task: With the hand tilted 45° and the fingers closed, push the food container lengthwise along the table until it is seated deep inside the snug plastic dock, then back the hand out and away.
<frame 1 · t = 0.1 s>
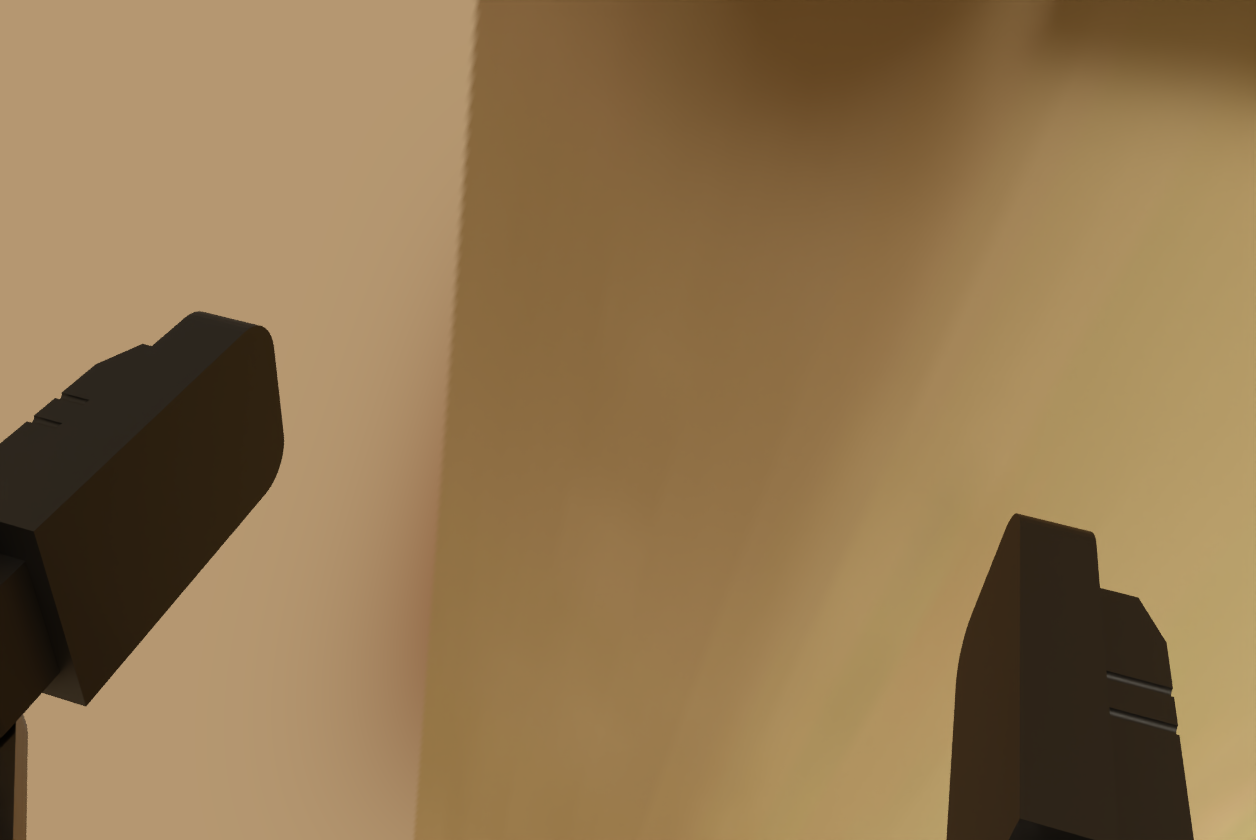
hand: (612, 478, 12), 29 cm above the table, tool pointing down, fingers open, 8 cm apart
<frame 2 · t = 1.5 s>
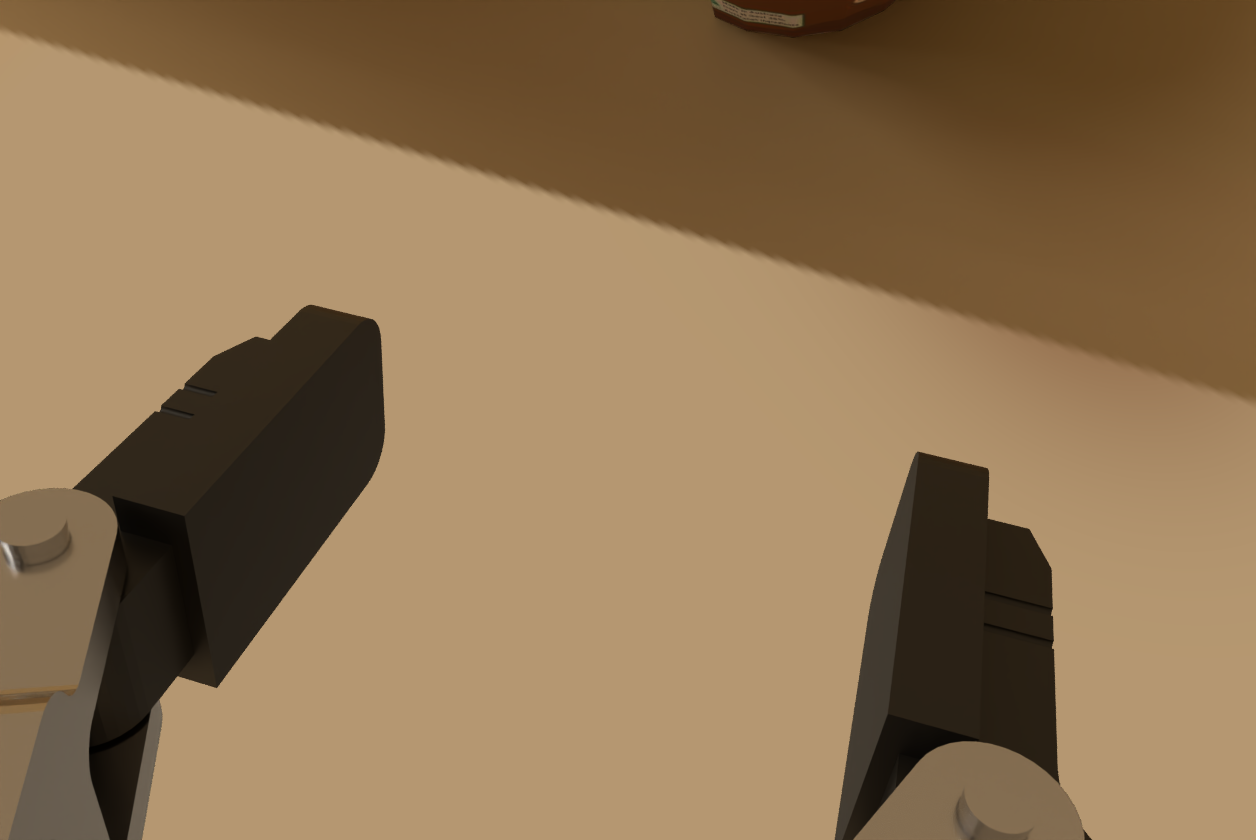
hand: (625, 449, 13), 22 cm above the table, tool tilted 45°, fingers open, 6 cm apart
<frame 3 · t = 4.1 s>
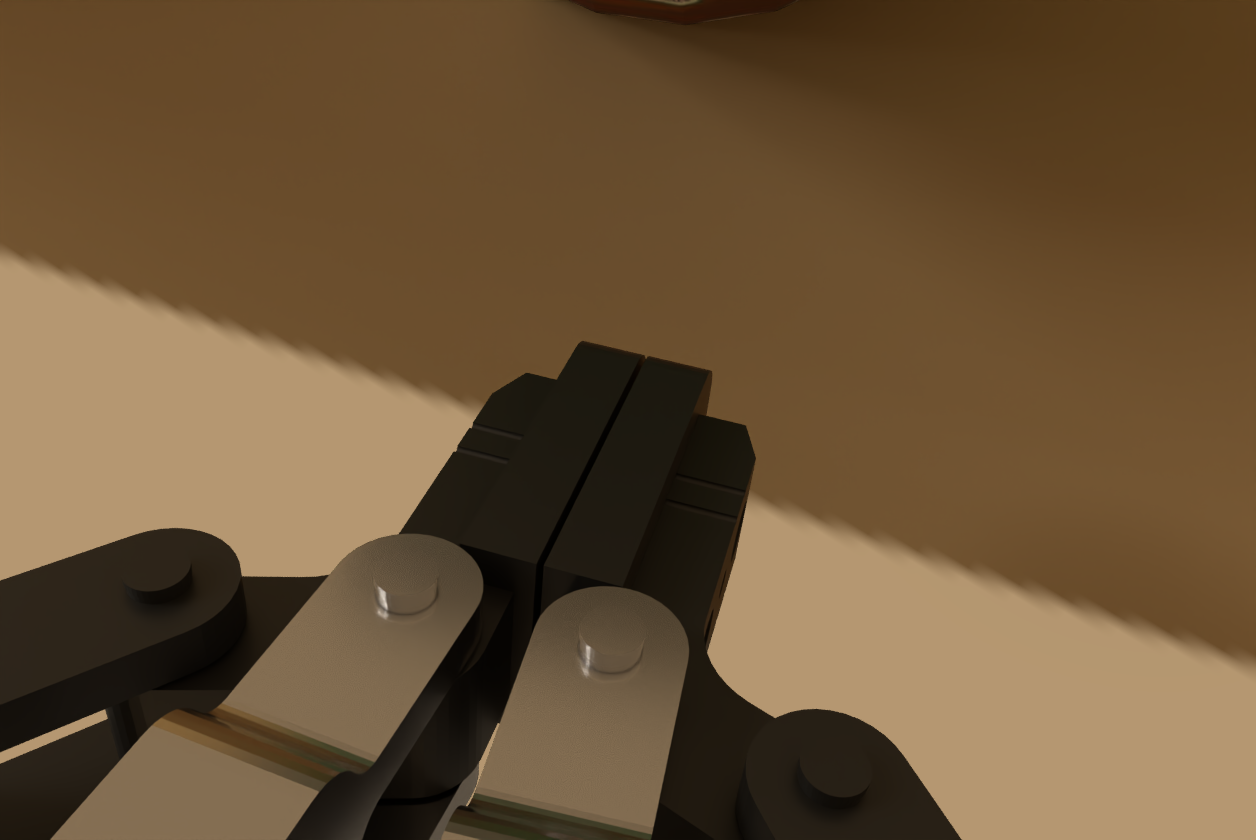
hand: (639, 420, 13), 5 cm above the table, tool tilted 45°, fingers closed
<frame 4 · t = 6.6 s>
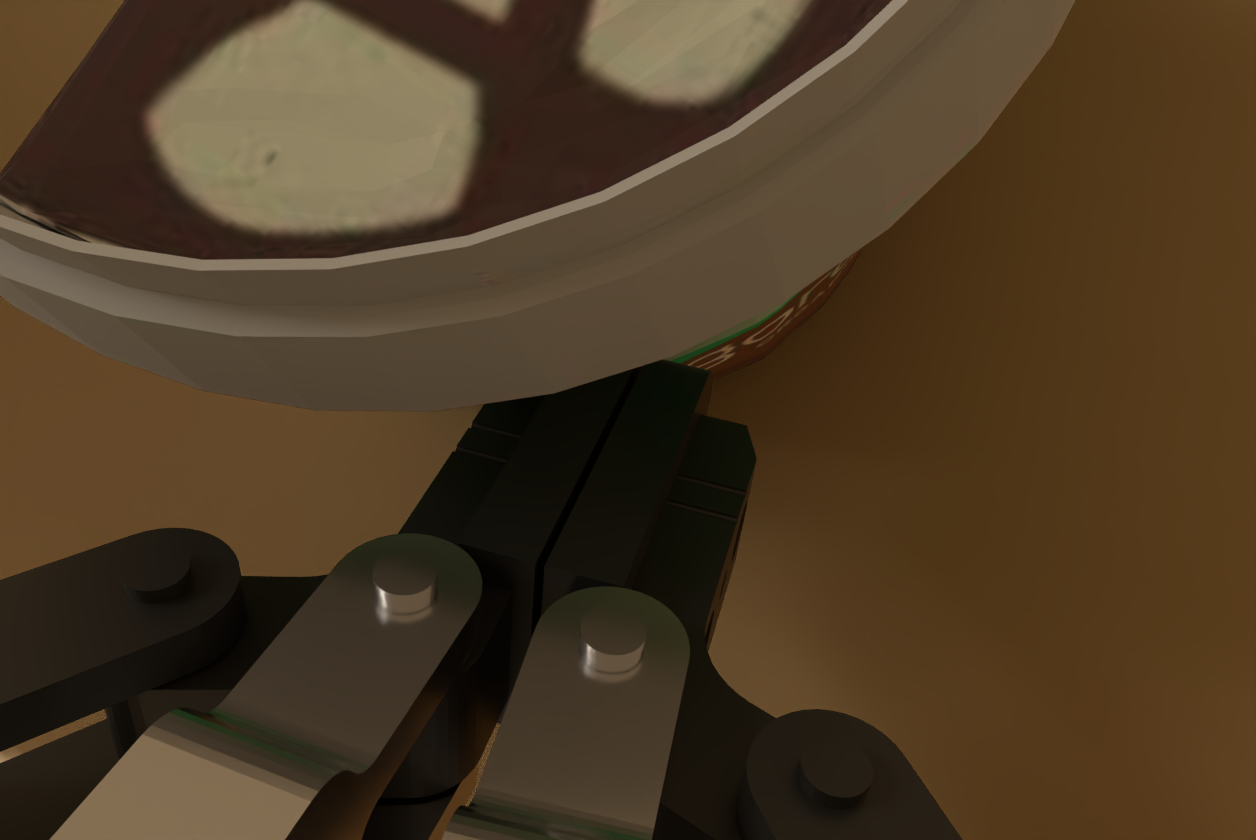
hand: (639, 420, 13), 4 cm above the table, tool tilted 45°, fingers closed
food container: (743, 210, 17), on the table, touching gripper
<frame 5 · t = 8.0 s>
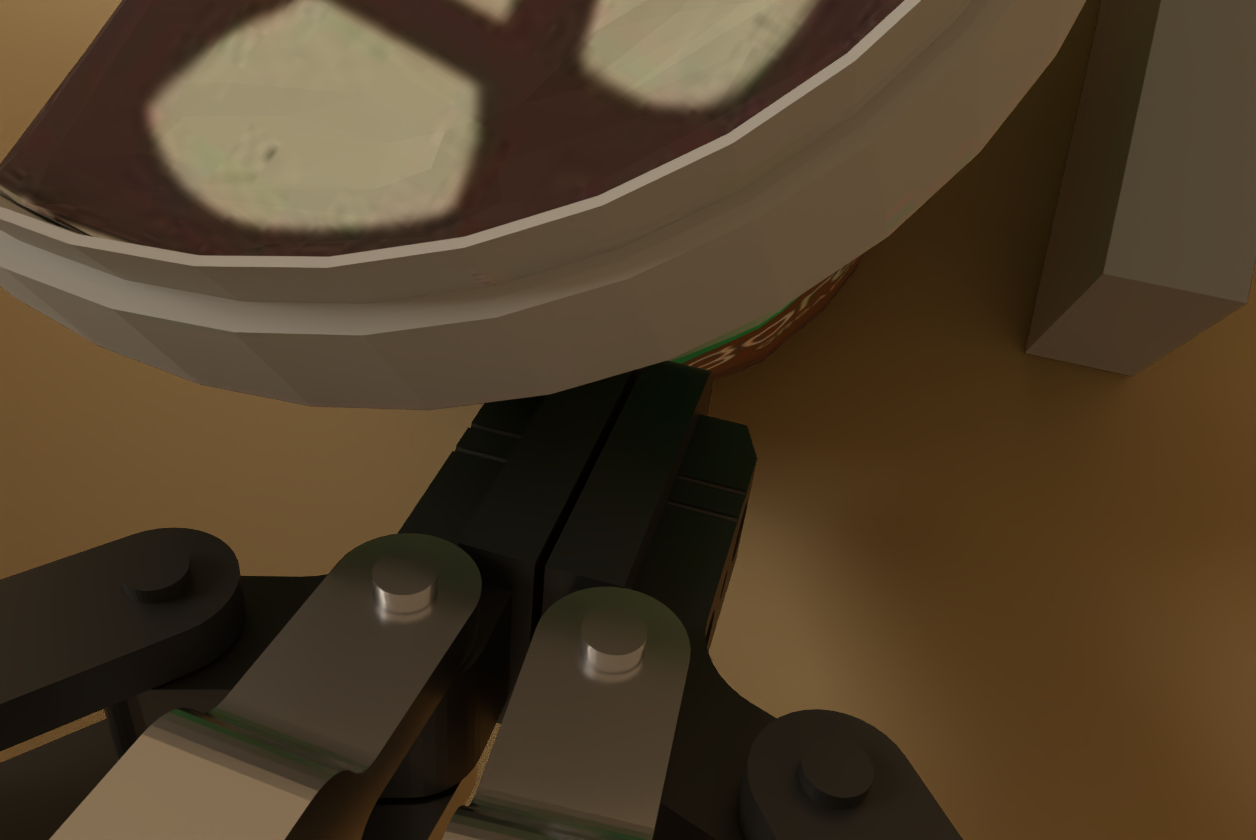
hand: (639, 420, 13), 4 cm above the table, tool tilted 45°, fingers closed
food container: (746, 211, 17), on the table, touching gripper
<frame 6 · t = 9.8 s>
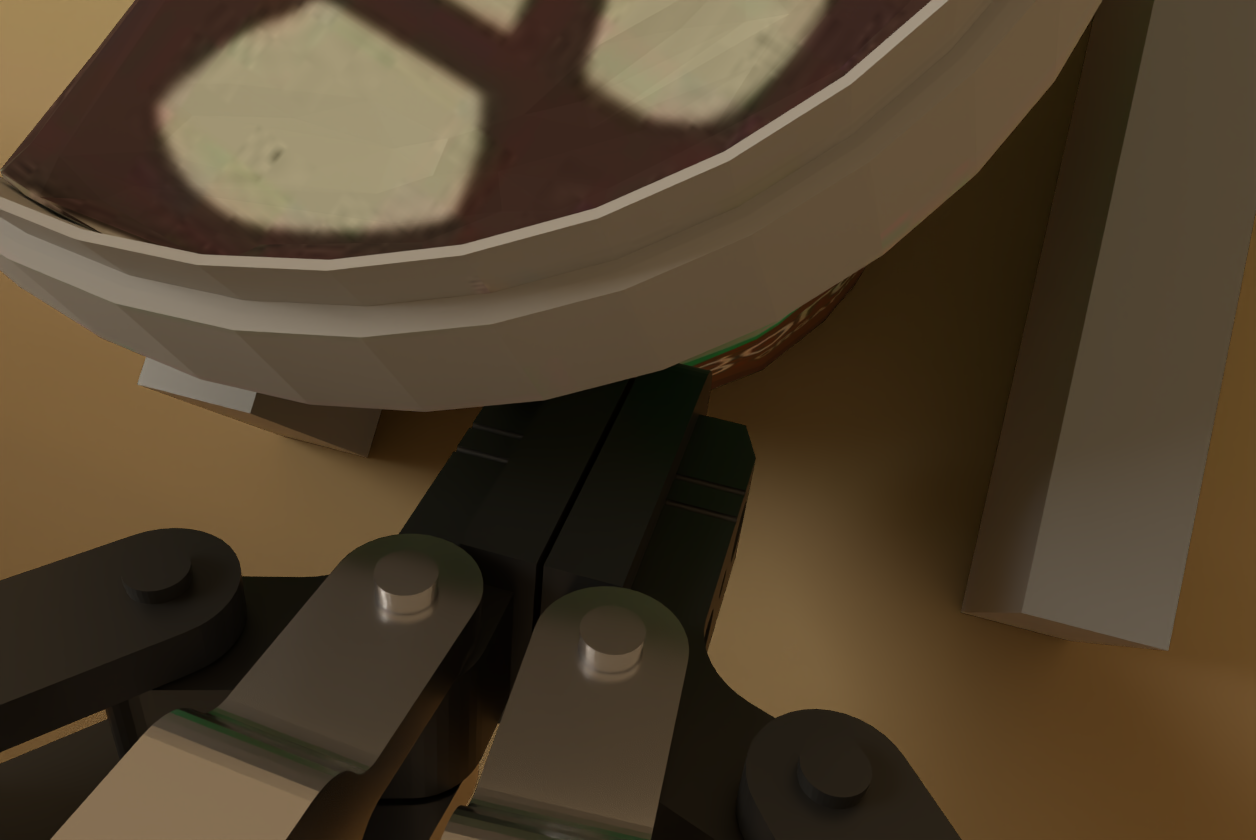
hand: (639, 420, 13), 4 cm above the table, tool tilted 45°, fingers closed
food container: (750, 221, 18), on the table
dock: (766, 90, 18), on the table
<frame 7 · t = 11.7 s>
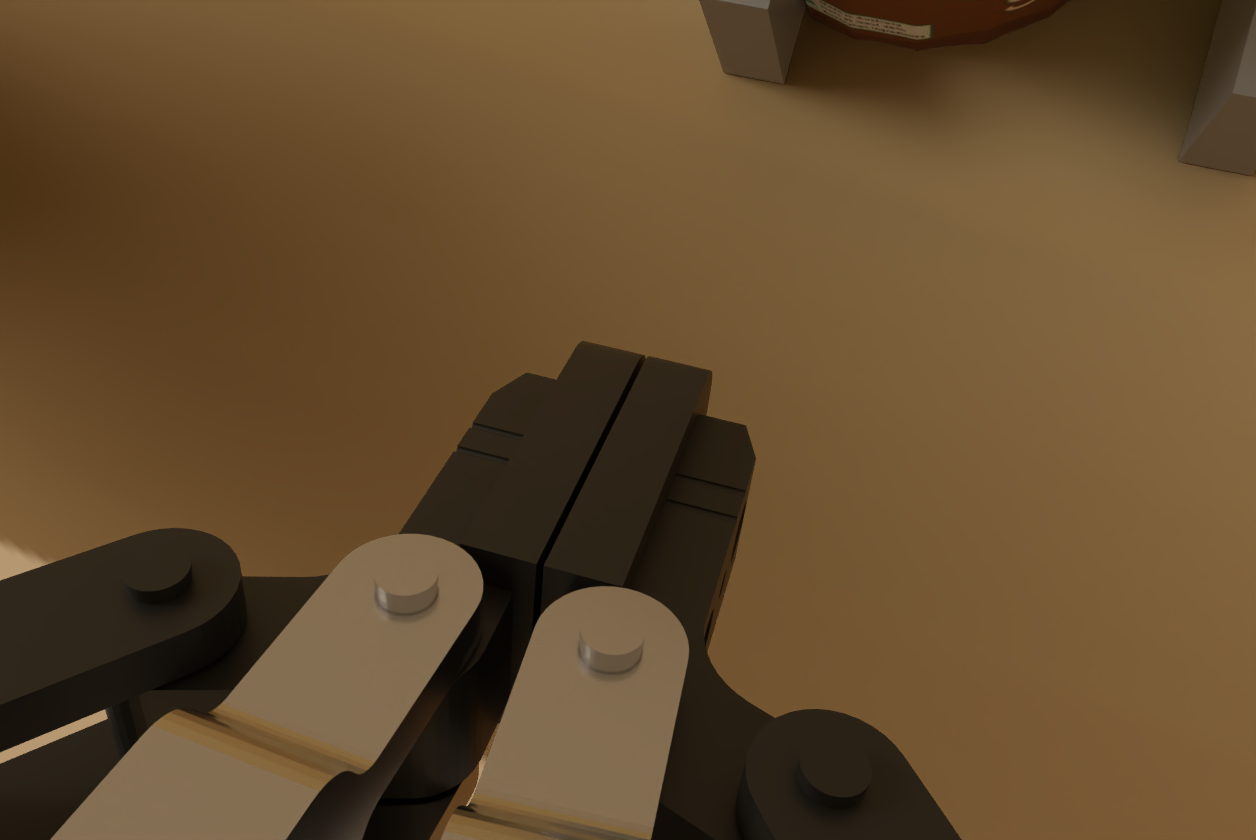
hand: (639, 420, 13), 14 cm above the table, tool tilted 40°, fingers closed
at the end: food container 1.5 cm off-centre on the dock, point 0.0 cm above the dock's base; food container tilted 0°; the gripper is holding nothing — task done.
